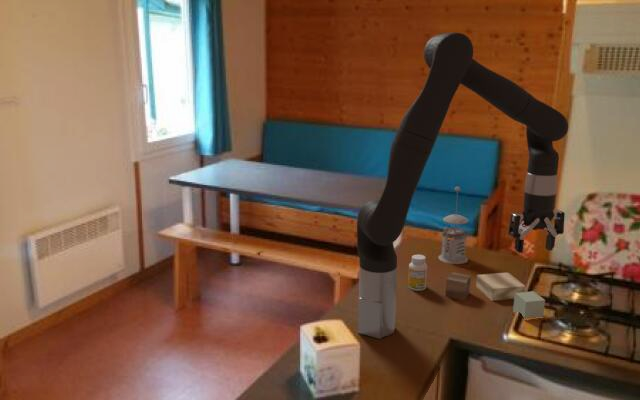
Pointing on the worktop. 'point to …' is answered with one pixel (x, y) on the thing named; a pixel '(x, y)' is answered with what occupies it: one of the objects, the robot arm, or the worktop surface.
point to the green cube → (529, 304)
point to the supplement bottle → (417, 273)
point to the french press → (457, 244)
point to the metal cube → (458, 286)
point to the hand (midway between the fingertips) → (534, 250)
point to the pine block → (499, 286)
